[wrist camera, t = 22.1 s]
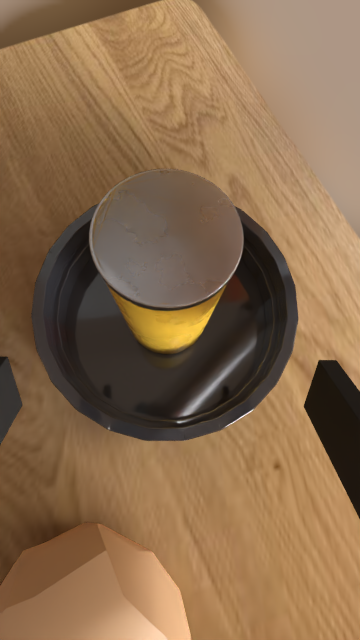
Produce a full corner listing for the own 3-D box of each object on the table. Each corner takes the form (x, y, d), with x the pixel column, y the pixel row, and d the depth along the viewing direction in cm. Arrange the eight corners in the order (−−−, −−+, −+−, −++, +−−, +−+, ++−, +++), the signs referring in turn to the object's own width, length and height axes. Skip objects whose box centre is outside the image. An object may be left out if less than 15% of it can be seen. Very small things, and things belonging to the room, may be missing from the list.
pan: (268, 221, 29) (286, 190, 24) (284, 433, 24) (310, 440, 20) (66, 216, 28) (47, 183, 24) (43, 433, 23) (14, 441, 19)
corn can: (205, 279, 26) (240, 170, 14) (206, 355, 25) (248, 308, 12) (129, 278, 26) (94, 165, 14) (125, 354, 25) (82, 306, 12)
